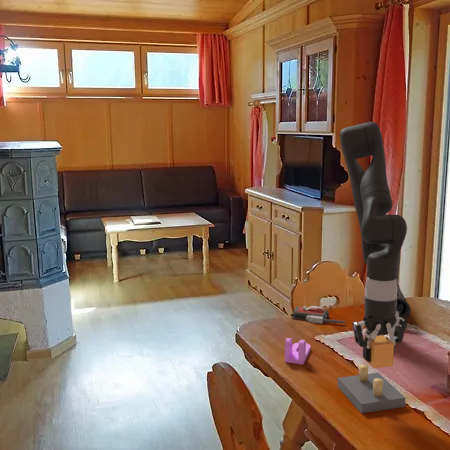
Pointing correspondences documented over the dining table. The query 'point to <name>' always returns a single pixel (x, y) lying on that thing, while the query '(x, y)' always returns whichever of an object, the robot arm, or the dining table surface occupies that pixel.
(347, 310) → the dining table surface
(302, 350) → the bracket
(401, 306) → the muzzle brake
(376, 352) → the orange wooden cube
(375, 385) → the mounting plate
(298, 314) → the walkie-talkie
